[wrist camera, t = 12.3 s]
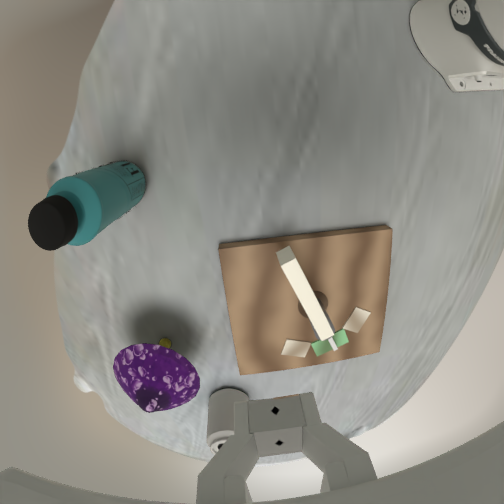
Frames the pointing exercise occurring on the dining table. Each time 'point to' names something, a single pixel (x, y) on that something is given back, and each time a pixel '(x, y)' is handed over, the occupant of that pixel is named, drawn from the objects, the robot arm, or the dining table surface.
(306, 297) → the cream lever
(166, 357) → the decorative mushroom
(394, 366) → the dining table surface
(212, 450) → the can
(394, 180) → the dining table surface
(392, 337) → the dining table surface
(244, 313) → the board
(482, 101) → the dining table surface
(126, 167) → the beverage bottle
